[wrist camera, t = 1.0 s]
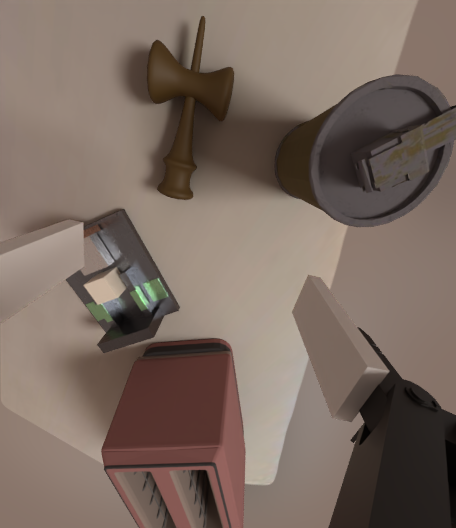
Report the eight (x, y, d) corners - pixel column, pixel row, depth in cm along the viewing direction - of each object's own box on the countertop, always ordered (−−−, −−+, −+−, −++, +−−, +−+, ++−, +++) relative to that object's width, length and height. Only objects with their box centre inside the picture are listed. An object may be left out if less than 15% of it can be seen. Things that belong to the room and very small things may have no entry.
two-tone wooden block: (62, 239, 37) (26, 255, 31) (97, 224, 36) (67, 237, 30) (86, 272, 40) (57, 293, 33) (120, 259, 39) (96, 278, 32)
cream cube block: (97, 274, 40) (83, 285, 36) (116, 266, 39) (104, 277, 36) (109, 292, 42) (97, 304, 38) (128, 285, 41) (118, 297, 37)
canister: (289, 211, 36) (346, 259, 18) (262, 145, 32) (299, 119, 14) (359, 177, 34) (507, 192, 15) (338, 102, 30) (498, 5, 12)
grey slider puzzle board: (45, 243, 39) (7, 259, 33) (124, 209, 37) (99, 218, 30) (110, 330, 47) (89, 357, 40) (179, 307, 44) (169, 332, 37)
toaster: (175, 440, 61) (148, 562, 43) (141, 343, 48) (80, 457, 29) (245, 437, 60) (250, 562, 41) (231, 336, 46) (228, 452, 28)
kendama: (148, 185, 36) (166, 16, 27) (208, 201, 37) (243, 42, 28) (134, 190, 30) (151, -19, 22) (204, 209, 31) (247, 16, 23)
